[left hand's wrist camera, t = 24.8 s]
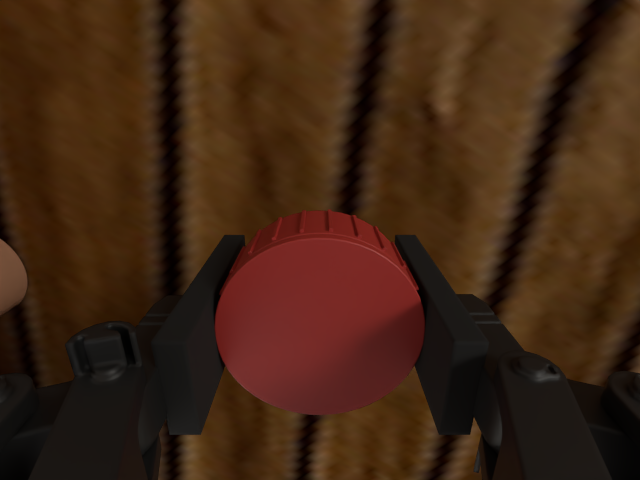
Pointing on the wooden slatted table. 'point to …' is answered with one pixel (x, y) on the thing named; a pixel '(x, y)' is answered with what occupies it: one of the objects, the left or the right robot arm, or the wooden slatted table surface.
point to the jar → (11, 279)
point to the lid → (319, 314)
